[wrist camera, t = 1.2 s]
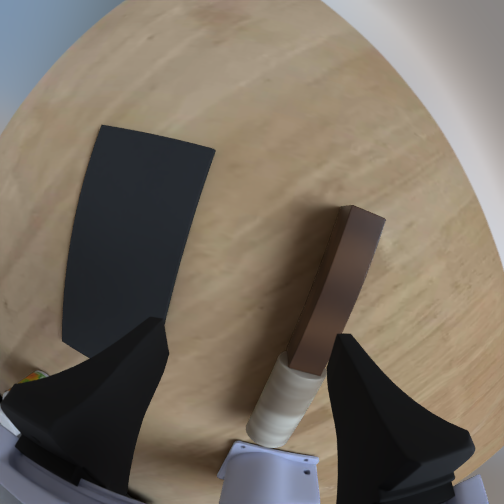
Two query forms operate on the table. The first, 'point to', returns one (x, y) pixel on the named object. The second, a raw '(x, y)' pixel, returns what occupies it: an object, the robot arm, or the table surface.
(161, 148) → the mat
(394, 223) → the table surface
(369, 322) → the table surface
